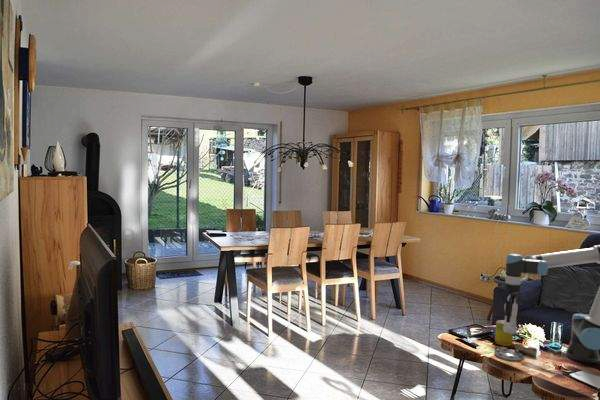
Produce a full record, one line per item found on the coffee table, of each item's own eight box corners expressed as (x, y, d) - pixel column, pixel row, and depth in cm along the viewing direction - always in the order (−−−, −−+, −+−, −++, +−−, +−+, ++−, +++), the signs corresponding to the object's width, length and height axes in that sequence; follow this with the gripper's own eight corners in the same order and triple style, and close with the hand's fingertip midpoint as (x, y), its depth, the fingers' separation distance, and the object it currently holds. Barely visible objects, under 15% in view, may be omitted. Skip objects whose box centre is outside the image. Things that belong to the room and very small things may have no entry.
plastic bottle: (515, 336, 244) (518, 298, 243) (501, 333, 248) (504, 296, 246) (517, 333, 249) (519, 296, 248) (503, 330, 253) (505, 294, 252)
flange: (526, 355, 250) (526, 352, 250) (518, 363, 239) (519, 359, 239) (499, 348, 259) (499, 345, 259) (490, 355, 248) (491, 352, 248)
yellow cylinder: (512, 347, 262) (513, 326, 261) (495, 344, 266) (496, 323, 265) (511, 341, 270) (512, 321, 270) (494, 339, 274) (496, 319, 273)
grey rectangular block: (536, 355, 251) (537, 347, 250) (534, 357, 247) (534, 349, 247) (516, 350, 257) (517, 342, 257) (514, 352, 254) (514, 344, 253)
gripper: (510, 279, 256) (508, 320, 258) (499, 285, 242) (497, 329, 243) (525, 281, 252) (522, 324, 253) (515, 287, 237) (512, 332, 238)
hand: (510, 326), depth 248 cm, fingers closed on plastic bottle, 6 cm apart
